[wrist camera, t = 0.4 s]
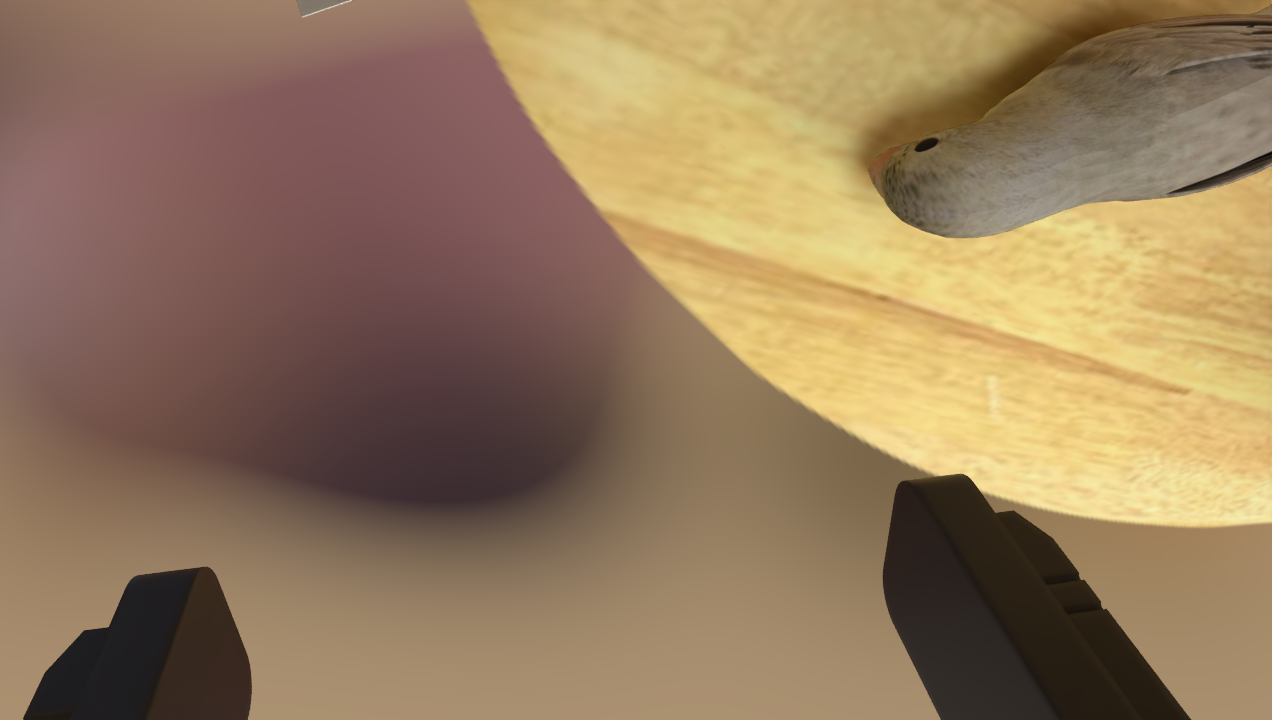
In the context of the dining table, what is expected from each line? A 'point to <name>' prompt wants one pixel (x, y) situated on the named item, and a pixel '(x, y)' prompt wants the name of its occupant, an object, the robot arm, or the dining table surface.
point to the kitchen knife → (317, 5)
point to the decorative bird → (1098, 130)
